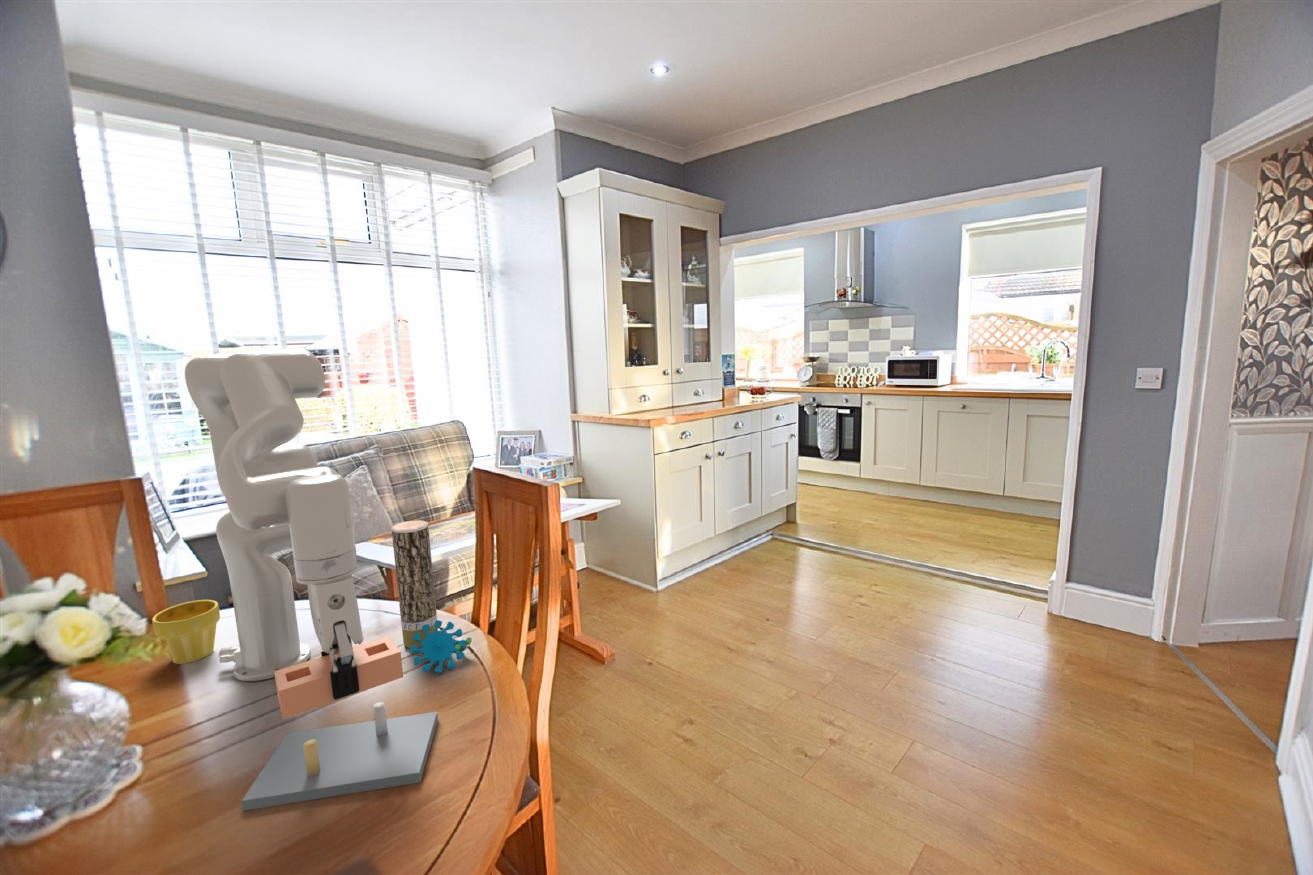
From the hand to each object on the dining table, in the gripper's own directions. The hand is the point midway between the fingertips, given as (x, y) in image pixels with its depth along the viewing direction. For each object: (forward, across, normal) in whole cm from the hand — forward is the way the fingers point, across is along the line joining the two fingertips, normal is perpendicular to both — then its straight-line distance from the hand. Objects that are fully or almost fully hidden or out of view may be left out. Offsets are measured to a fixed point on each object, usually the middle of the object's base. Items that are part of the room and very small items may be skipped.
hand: (341, 683), depth 83 cm
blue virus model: (+13, +19, -20) cm, 30 cm away
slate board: (+12, 0, 0) cm, 12 cm away
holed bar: (+1, 0, 0) cm, 1 cm away
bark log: (+12, +30, -19) cm, 38 cm away
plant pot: (+12, +56, +18) cm, 60 cm away
